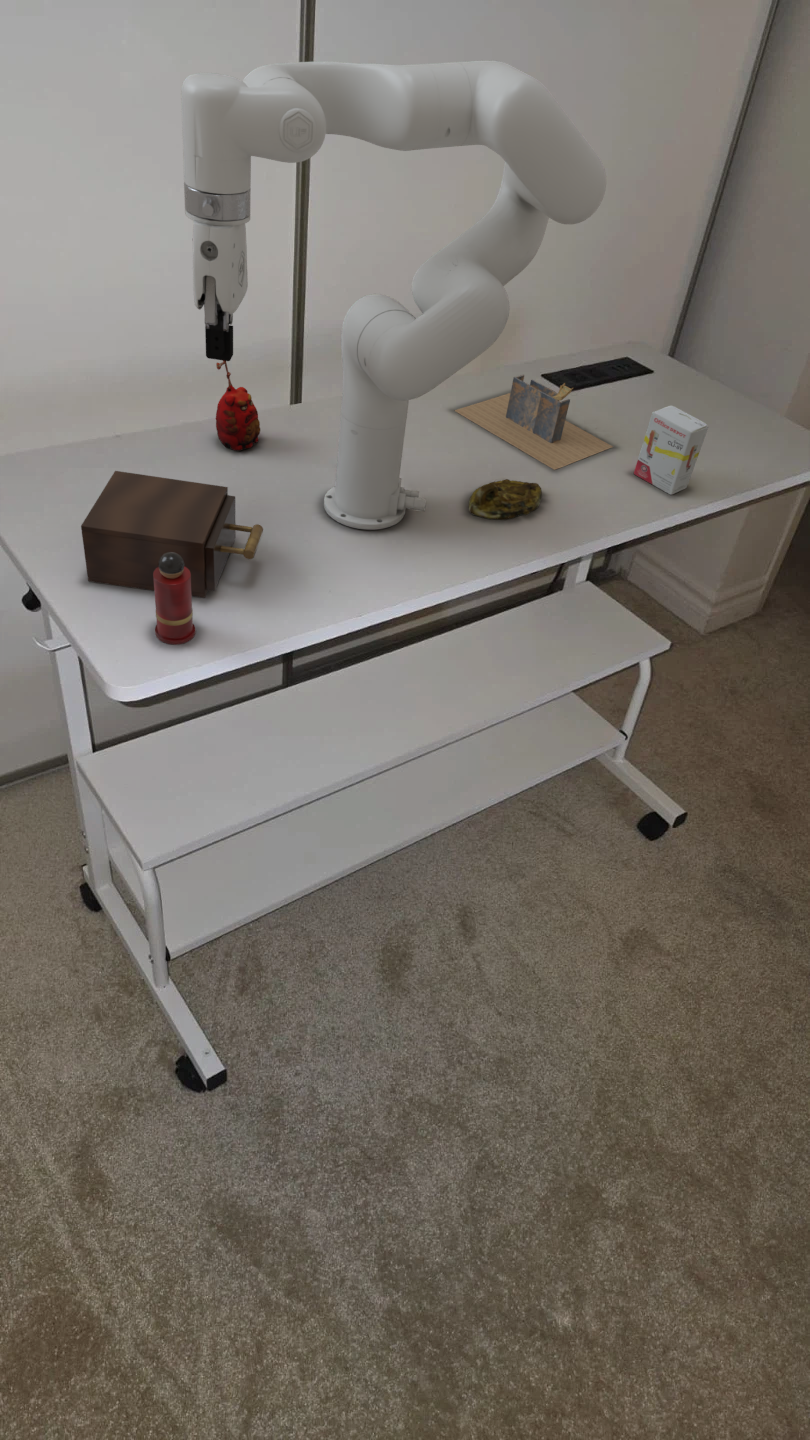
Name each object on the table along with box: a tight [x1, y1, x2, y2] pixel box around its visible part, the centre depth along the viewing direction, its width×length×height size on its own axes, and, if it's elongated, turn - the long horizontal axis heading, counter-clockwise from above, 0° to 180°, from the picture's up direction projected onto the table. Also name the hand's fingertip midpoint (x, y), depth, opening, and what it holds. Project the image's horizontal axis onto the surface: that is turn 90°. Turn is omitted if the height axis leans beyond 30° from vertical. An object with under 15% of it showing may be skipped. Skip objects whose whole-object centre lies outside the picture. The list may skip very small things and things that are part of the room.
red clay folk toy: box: [215, 360, 261, 452], centre depth 154 cm, size 8×7×15 cm
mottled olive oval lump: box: [468, 478, 543, 521], centre depth 154 cm, size 9×5×15 cm
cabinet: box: [80, 470, 229, 599], centre depth 130 cm, size 16×14×9 cm
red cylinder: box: [153, 552, 196, 646], centre depth 118 cm, size 5×5×12 cm
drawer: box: [205, 494, 264, 592], centre depth 130 cm, size 19×13×7 cm
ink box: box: [633, 405, 709, 496], centre depth 163 cm, size 9×5×12 cm, turn 41°
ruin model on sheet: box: [454, 374, 614, 471], centre depth 172 cm, size 25×16×10 cm, turn 42°
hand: (219, 357), depth 124 cm, fingers closed
